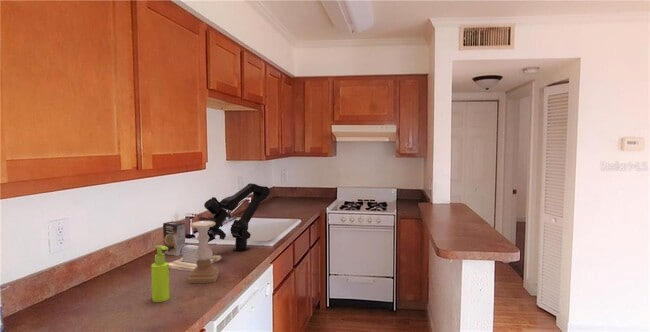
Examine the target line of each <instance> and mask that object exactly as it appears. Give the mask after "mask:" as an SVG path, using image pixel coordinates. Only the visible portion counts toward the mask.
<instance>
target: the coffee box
mask: <svg viewBox="0 0 650 332" xmlns="http://www.w3.org/2000/svg"><path fill="white" fill-rule="evenodd" d="M162 225H163V226H162V227H163V228H162V231H163V233H162V234H163V246H166V247H168V249H166V250H163V254H165V255H168V256H175V257H179V256H182V247H184V246H186V222H180V221H173V220H172V221H168V222H167V221H166V222H163V223H162Z"/></svg>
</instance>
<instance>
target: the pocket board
mask: <svg viewBox="0 0 650 332" xmlns="http://www.w3.org/2000/svg"><path fill="white" fill-rule="evenodd" d="M209 259H210V260H211V264H213V263H216V262H218V261H220V260H222V255H218V254H217V255H215V254H212V257H211V258H209ZM168 263H169V269H171V270H173V269H174V270H179V271H186V272H191V273H192V271H193V270H194V269H195V268H196V267H198V266H197V265H196V264H193V263H185V262H183V257H180V258H179V259H176V260H173V261H170V262H168ZM211 264H210V265H211Z"/></svg>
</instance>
